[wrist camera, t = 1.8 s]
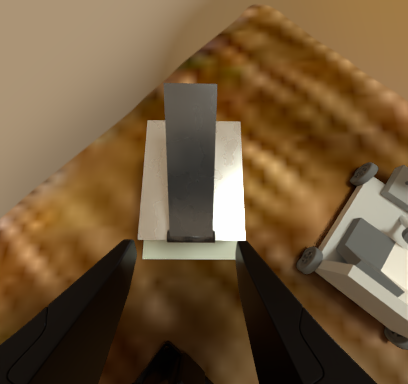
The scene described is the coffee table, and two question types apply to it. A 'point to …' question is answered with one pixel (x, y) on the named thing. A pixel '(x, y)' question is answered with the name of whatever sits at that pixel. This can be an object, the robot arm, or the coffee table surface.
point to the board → (189, 250)
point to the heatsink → (223, 184)
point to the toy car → (370, 250)
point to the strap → (190, 160)
